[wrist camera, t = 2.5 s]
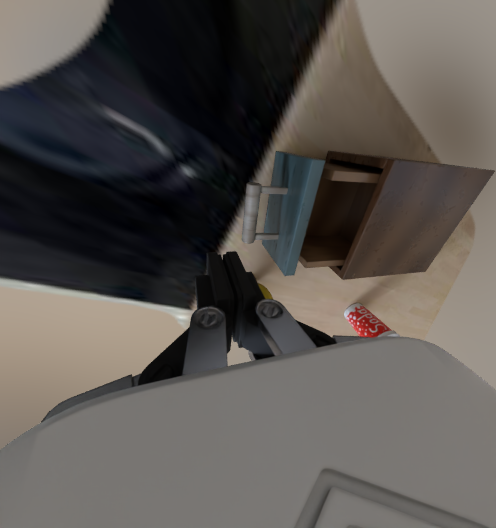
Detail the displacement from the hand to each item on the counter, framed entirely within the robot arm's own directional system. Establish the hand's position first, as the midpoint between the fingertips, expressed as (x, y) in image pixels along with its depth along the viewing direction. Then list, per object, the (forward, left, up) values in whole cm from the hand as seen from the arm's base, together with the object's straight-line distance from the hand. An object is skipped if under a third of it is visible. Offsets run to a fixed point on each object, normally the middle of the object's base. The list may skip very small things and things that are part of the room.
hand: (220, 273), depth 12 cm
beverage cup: (+24, +33, -15) cm, 43 cm away
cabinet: (0, +22, -15) cm, 27 cm away
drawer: (0, +12, -14) cm, 19 cm away
